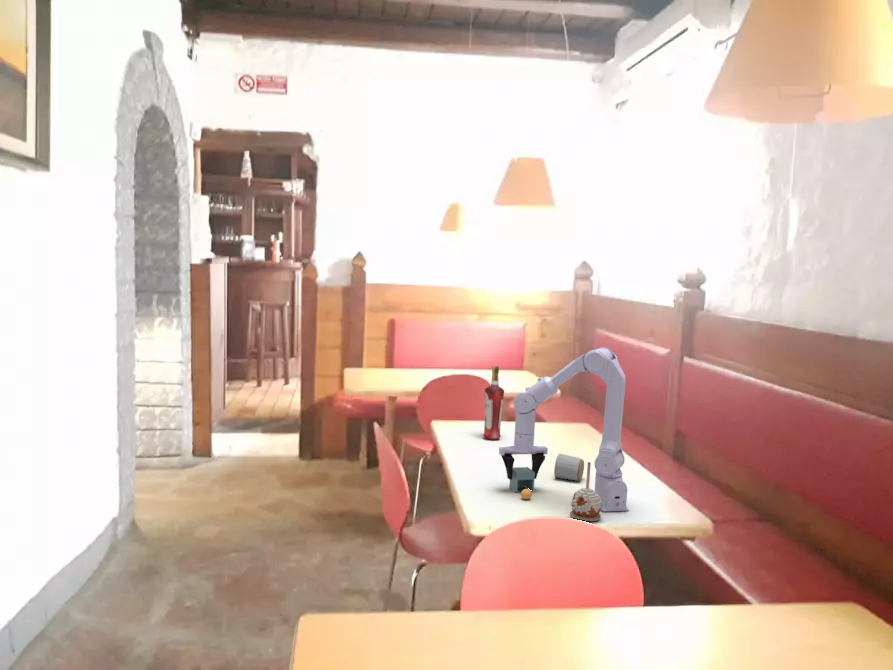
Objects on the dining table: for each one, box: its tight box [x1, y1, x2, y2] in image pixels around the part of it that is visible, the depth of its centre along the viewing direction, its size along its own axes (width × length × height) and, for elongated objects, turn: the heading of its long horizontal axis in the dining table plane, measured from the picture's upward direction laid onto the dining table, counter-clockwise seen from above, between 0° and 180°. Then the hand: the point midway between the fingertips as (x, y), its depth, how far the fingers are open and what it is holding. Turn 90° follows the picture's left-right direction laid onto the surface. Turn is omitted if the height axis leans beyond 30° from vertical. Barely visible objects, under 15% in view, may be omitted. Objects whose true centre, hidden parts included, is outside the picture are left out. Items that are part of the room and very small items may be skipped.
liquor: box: [482, 365, 505, 441], centre depth 285 cm, size 7×7×28 cm
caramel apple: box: [569, 461, 602, 522], centre depth 198 cm, size 8×8×15 cm
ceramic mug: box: [553, 453, 585, 482], centre depth 236 cm, size 11×8×8 cm
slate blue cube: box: [508, 466, 535, 493], centre depth 221 cm, size 6×6×6 cm
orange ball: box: [520, 488, 533, 500], centre depth 212 cm, size 3×3×3 cm
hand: (521, 478), depth 221 cm, fingers open, 7 cm apart
